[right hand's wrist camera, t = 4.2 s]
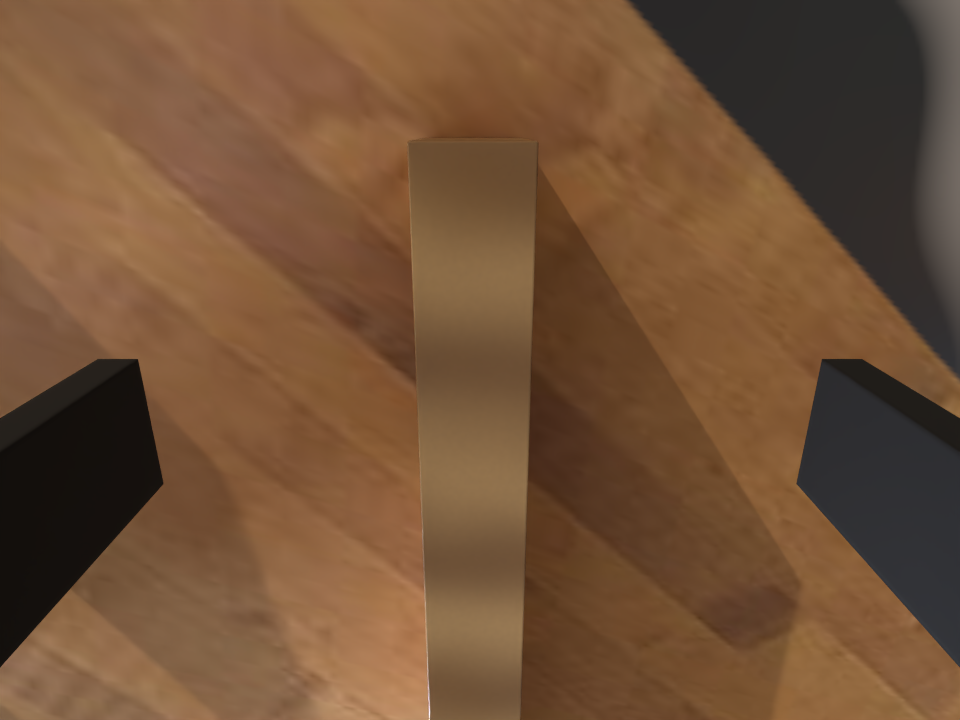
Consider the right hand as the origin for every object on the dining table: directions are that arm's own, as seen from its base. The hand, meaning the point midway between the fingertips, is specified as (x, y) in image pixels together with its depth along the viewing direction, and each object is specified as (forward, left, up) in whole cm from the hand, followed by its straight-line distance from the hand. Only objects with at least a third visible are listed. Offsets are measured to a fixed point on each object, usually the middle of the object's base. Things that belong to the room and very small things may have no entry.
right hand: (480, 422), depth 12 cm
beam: (-16, -27, -20) cm, 37 cm away
